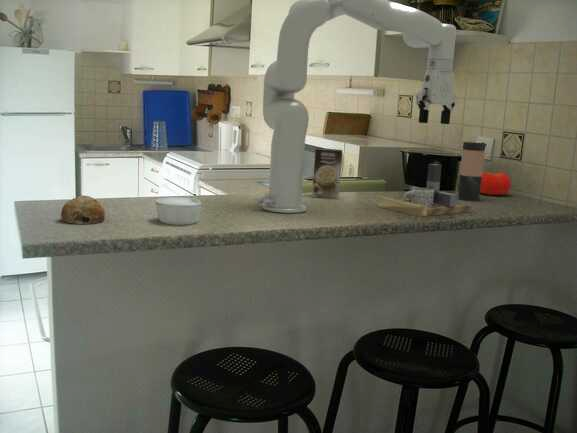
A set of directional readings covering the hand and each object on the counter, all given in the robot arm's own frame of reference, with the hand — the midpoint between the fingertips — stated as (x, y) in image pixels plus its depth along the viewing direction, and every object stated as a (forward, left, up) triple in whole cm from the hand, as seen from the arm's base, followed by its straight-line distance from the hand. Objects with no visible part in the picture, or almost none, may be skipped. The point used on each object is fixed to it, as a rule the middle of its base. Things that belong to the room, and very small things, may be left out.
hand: (434, 123), depth 194 cm
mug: (-6, -2, -27) cm, 28 cm away
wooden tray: (-2, -2, -27) cm, 27 cm away
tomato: (+52, +14, -27) cm, 60 cm away
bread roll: (-103, +16, -27) cm, 108 cm away
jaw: (0, -2, -24) cm, 24 cm away
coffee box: (-18, +28, -27) cm, 43 cm away
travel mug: (+31, +8, -27) cm, 42 cm away
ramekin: (-82, +7, -27) cm, 87 cm away
